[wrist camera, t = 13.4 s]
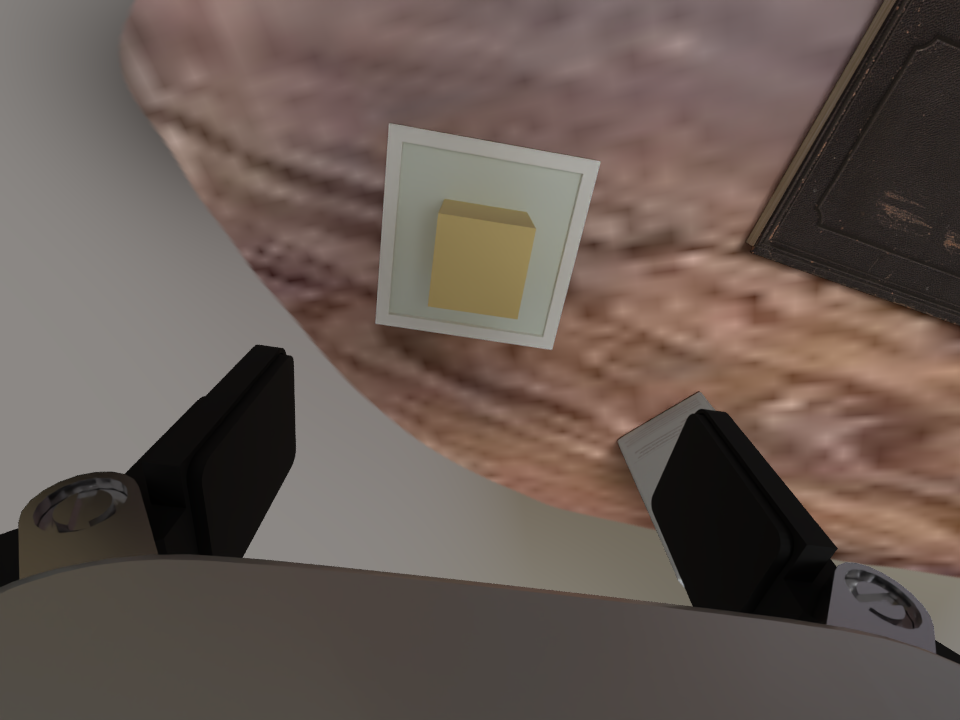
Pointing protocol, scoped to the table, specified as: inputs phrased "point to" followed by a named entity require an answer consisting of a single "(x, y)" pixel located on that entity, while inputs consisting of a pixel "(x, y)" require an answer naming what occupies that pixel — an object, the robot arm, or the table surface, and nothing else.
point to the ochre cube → (480, 259)
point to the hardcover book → (882, 168)
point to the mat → (486, 181)
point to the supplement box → (657, 452)
